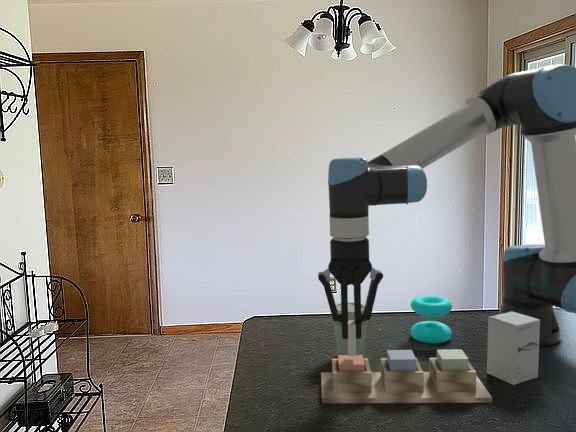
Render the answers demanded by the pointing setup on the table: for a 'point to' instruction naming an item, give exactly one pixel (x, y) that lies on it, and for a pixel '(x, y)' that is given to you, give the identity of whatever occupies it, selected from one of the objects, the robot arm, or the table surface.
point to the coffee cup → (343, 343)
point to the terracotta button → (350, 363)
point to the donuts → (431, 329)
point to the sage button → (452, 360)
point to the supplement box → (513, 347)
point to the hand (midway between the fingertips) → (352, 353)
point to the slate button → (401, 360)
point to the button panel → (403, 385)
